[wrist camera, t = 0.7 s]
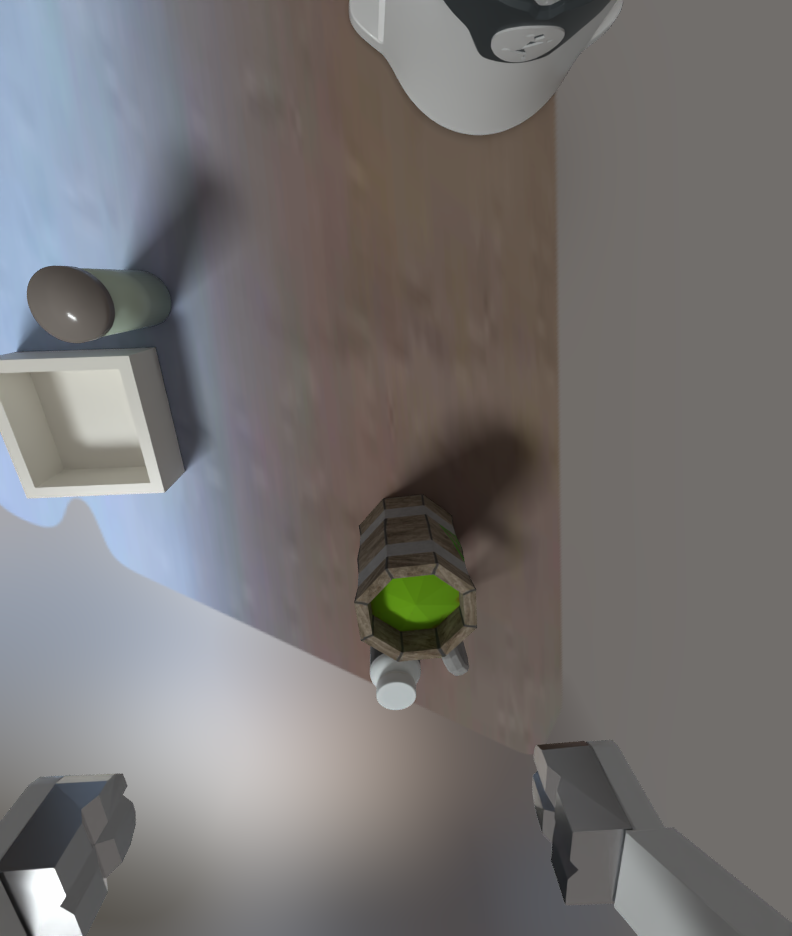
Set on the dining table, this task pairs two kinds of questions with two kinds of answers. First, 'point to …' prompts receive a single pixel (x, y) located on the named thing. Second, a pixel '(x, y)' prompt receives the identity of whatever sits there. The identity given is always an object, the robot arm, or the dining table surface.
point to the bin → (88, 422)
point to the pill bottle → (394, 680)
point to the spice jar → (95, 301)
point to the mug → (414, 584)
